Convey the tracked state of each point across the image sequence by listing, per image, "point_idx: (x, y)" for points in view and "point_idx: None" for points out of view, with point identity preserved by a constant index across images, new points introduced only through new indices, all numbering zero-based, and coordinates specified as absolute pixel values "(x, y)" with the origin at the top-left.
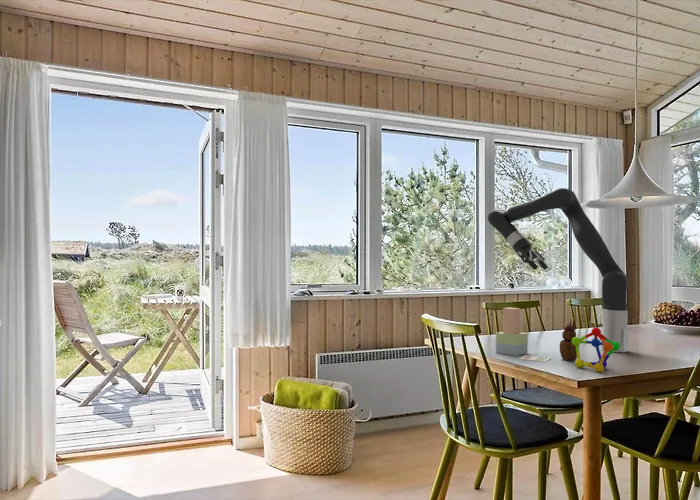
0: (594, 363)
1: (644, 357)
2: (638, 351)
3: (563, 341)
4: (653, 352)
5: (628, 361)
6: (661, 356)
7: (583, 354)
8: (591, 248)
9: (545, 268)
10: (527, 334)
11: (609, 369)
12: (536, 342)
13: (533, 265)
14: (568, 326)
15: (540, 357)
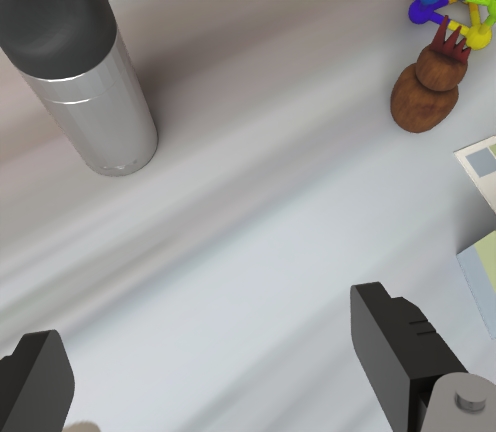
0: (443, 16)
1: (158, 45)
2: None
3: (455, 86)
4: None
5: (263, 35)
6: None
7: (284, 150)
8: None
9: (68, 363)
10: (492, 232)
11: None
12: (210, 420)
13: (424, 328)
14: (460, 42)
15: (483, 170)
